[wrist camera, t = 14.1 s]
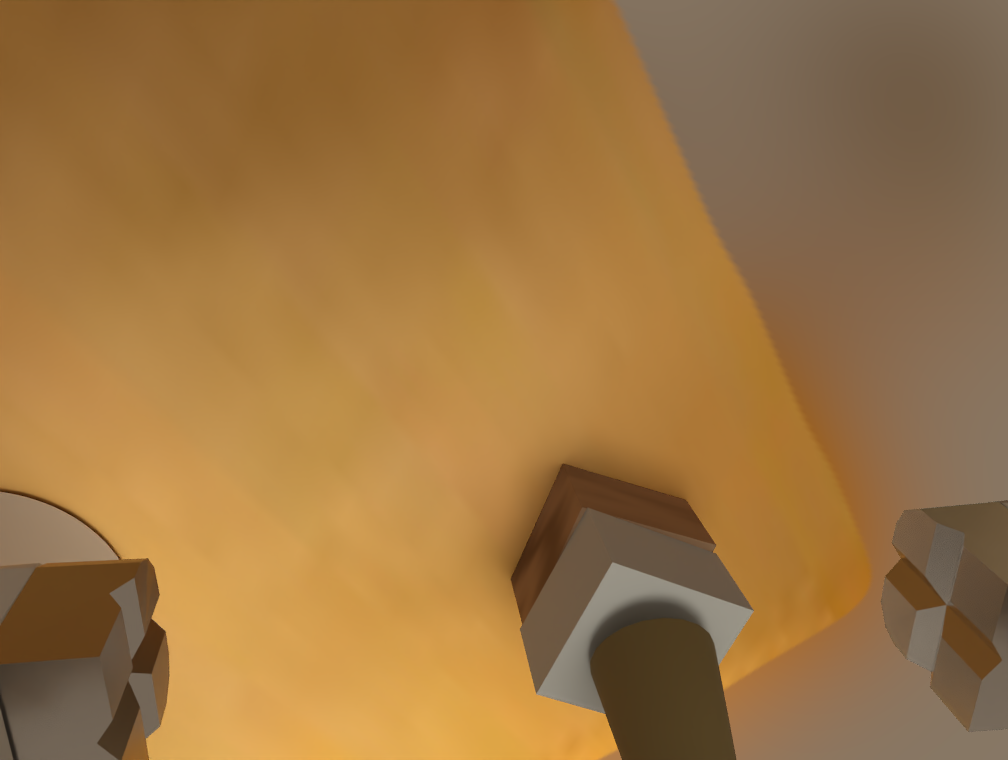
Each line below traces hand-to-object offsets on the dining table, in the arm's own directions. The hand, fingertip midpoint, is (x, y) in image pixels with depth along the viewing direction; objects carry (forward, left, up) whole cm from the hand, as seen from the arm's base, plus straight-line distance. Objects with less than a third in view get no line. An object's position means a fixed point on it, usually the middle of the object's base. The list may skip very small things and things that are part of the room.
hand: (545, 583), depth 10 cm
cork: (-14, -20, -25) cm, 35 cm away
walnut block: (-14, -20, -35) cm, 43 cm away
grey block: (-14, -20, -30) cm, 39 cm away
